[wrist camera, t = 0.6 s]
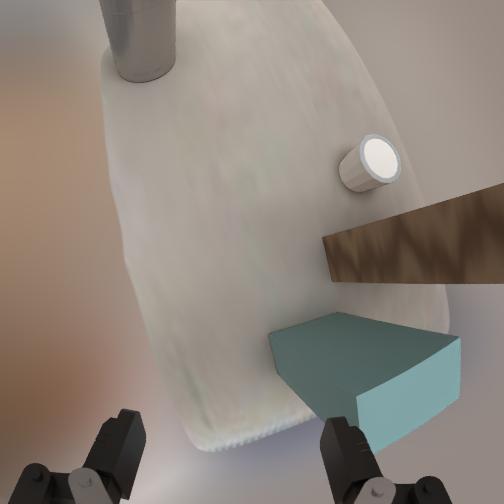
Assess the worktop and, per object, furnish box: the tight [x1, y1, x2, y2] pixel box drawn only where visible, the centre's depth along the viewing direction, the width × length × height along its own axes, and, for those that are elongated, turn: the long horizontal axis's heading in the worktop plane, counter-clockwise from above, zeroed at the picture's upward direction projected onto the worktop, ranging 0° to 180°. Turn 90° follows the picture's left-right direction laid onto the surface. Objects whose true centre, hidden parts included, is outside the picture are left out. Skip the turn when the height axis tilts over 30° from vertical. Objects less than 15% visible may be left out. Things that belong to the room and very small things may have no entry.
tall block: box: [268, 312, 461, 454], centre depth 26 cm, size 6×10×21 cm, turn 104°
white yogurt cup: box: [339, 134, 401, 192], centre depth 36 cm, size 7×7×7 cm
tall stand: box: [322, 183, 504, 284], centre depth 23 cm, size 6×11×32 cm, turn 104°
